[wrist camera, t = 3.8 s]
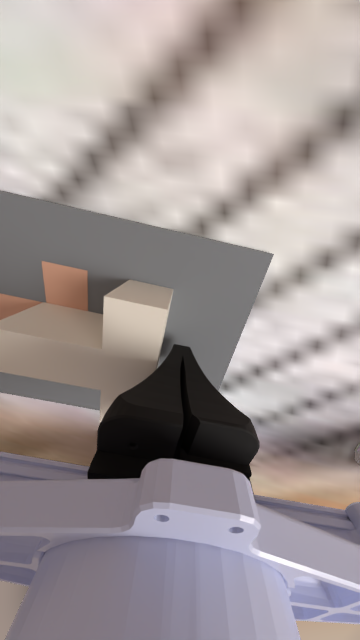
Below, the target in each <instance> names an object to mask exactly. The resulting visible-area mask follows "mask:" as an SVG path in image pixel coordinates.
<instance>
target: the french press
mask: <svg viewBox="0 0 360 640" xmlns="http://www.w3.org/2000/svg"><path fill="white" fill-rule="evenodd" d="M355 461H356V462H357V463H358V464H359V465H360V443H359V444H358V446H357V447H356V448H355Z"/></svg>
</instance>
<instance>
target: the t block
mask: <svg viewBox="0 0 360 640" xmlns="http://www.w3.org/2000/svg"><path fill="white" fill-rule="evenodd" d="M172 294H173V289H171V288H166V287H162V286H157V285H153V284H148V283H143V282H139V281H134V280H128V281H127V282H125V283H124V284H122V285H121V286H119V287H117V288H116V289H114V290H113V291H111V292H110V293H108V294H107V295H105V296H104V307H103V314H99V313H94V312H89V311H84V310H79V309H75V308H70V307H65V306H60V305H55V304H50V303H46V302H43V303H40V304H38V305H36V306H33V307H31V308H28V309H26V310H24V311H21V312H19V313H16V314H14V315H11V316H9V317H7V318H4V319H2V320H0V372H4V373H9V374H14V375H20V376H25V377H31V378H36V379H42V380H47V381H53V382H58V383H64V384H69V385H74V386H80V387H85V388H91V389H96V390H101V397H100V423H101V421H102V419H103V417H104V415H105V413H106V412H107V410H108V408H109V407H110V405H111V404H112V403H113V401H114V400H115V399H116V398H117V396H118V395H120V394H122V393H123V392H125V391H127V390H129V389H131V388H133V387H134V386H136V385H137V384H139V383H140V382H142V381H143V380H145V379H146V378H147V377H148V376H150V375H151V374H152V373H153V372H154V371H155V370H156V369H157V368H158V363H159V358H160V353H161V348H162V343H163V338H164V333H165V328H166V323H167V318H168V314H169V309H170V304H171V299H172Z"/></svg>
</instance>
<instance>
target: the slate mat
mask: <svg viewBox="0 0 360 640" xmlns="http://www.w3.org/2000/svg"><path fill="white" fill-rule="evenodd" d="M273 255H274V254H272V253H267V252H263V251H259V250H254V249H250V248H246V247H241V246H237V245H233V244H229V243H224V242H220V241H216V240H211V239H207V238H203V237H198V236H194V235H190V234H185V233H181V232H177V231H172V230H168V229H164V228H160V227H155V226H151V225H147V224H142V223H138V222H134V221H129V220H125V219H121V218H116V217H112V216H108V215H104V214H99V213H95V212H91V211H86V210H82V209H78V208H73V207H69V206H65V205H60V204H56V203H52V202H47V201H43V200H39V199H35V198H30V197H26V196H22V195H17V194H13V193H9V192H4V191H0V320H2V319H4V318H7V317H9V316H11V315H14V314H16V313H19V312H21V311H24V310H26V309H28V308H31V307H33V306H36V305H38V304H40V303H43V302H46V303H50V304H55V305H60V306H65V307H70V308H75V309H79V310H84V311H89V312H94V313H99V314H103V307H104V296H105V295H107V294H108V293H110V292H111V291H113V290H114V289H116V288H117V287H119V286H121V285H122V284H124V283H125V282H127V281H128V280H134V281H139V282H143V283H148V284H153V285H157V286H162V287H166V288H171V289H173V294H172V299H171V304H170V309H169V314H168V318H167V323H166V328H165V333H164V338H163V343H162V348H161V353H160V358H159V363H158V367H159V366H160V365H161V364H162V363H163V361H164V360H165V359H166V357H167V356H168V355H169V353H170V351H171V350H172V347H173V345H174V344H177V345H182V346H187V347H190V348H191V350H192V353H193V355H194V357H195V359H196V361H197V363H198V364H199V366H200V368H201V370H202V371H203V373H204V374H205V376H206V377H207V379H208V380H209V381H210V382H211V384H212V385H213V386H214V387H215V388H216V389H217V391H218V390H219V388H220V385H221V383H222V380H223V378H224V375H225V373H226V370H227V368H228V366H229V363H230V361H231V358H232V356H233V353H234V351H235V348H236V346H237V343H238V341H239V338H240V336H241V334H242V331H243V329H244V326H245V324H246V321H247V319H248V316H249V314H250V311H251V309H252V306H253V304H254V302H255V299H256V297H257V294H258V292H259V289H260V287H261V284H262V282H263V279H264V277H265V275H266V272H267V270H268V267H269V265H270V262H271V260H272V257H273ZM0 392H1V393H7V394H12V395H18V396H23V397H29V398H34V399H40V400H45V401H51V402H56V403H62V404H67V405H73V406H78V407H84V408H89V409H95V410H100V397H101V390H96V389H91V388H85V387H80V386H74V385H69V384H64V383H58V382H53V381H47V380H42V379H36V378H31V377H25V376H20V375H14V374H9V373H4V372H0Z"/></svg>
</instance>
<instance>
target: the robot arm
mask: <svg viewBox="0 0 360 640" xmlns="http://www.w3.org/2000/svg"><path fill="white" fill-rule="evenodd" d="M258 449H259V440H258V437H257V434H256V431H255V429H254V426H253V424H252V422H251V420H250V419H249V418H248V417H247V416H246V415H244V414H243V413H242V412H240V411H239V410H238V409H237V408H235V407H234V406H233V405H232V404H231V403H230V402H229V401H227V400H226V399H225V398H224V397H223V396H222V395H221V394H220V393H219V392H218V391H217V389H216V388H215V387H214V386H213V385H212V384H211V382H210V381H209V380H208V379H207V377H206V376H205V374H204V373H203V371H202V370H201V368H200V366H199V364H198V363H197V361H196V359H195V357H194V355H193V353H192V350H191V348H190V347H187V346H182V345H177V344H174V345H173V347H172V350H171V351H170V353H169V355H168V356H167V357H166V359H165V360H164V361H163V363H162V364H161V365H160V366H159V367H158V368H157V369H156V370H155V371H154V372H153V373H152V374H151V375H150V376H148V377H147V378H146V379H145V380H143V381H142V382H140V383H139V384H137V385H136V386H134V387H133V388H131V389H129V390H127V391H125V392H123V393H122V394H120V395H118V396H117V398H116V399H115V400H114V401H113V403H112V404H111V405H110V407H109V408H108V410H107V412H106V413H105V415H104V417H103V419H102V421H101V423H100V425H99V428H98V438H97V451H96V454H95V456H94V458H93V460H92V463H91V465H90V467H88V466H82V465H77V464H71V463H65V462H59V461H53V460H47V459H41V458H35V457H30V456H24V455H18V454H12V453H6V452H0V580H1V581H5V582H10V583H14V584H19V585H23V586H28V587H29V588H28V590H27V593H26V595H25V597H24V599H23V602H22V604H21V606H20V608H19V610H18V612H17V614H16V616H15V619H14V621H13V623H12V625H11V627H10V629H9V632H8V634H7V636H6V638H5V640H301V639H300V636H299V631H298V628H297V625H296V621H295V620H298V621H316V622H334V623H349V624H360V502H356V503H352V504H350V505H349V506H348V507H347V508H346V509H345V510H341V509H335V508H329V507H323V506H318V505H312V504H306V503H300V502H294V501H288V500H282V499H276V498H271V497H265V496H259V495H254V493H253V490H252V486H251V482H250V478H249V477H251V470H250V466H249V464H250V462H251V461H252V459H253V458H254V456H255V455H256V453H257V452H258Z"/></svg>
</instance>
